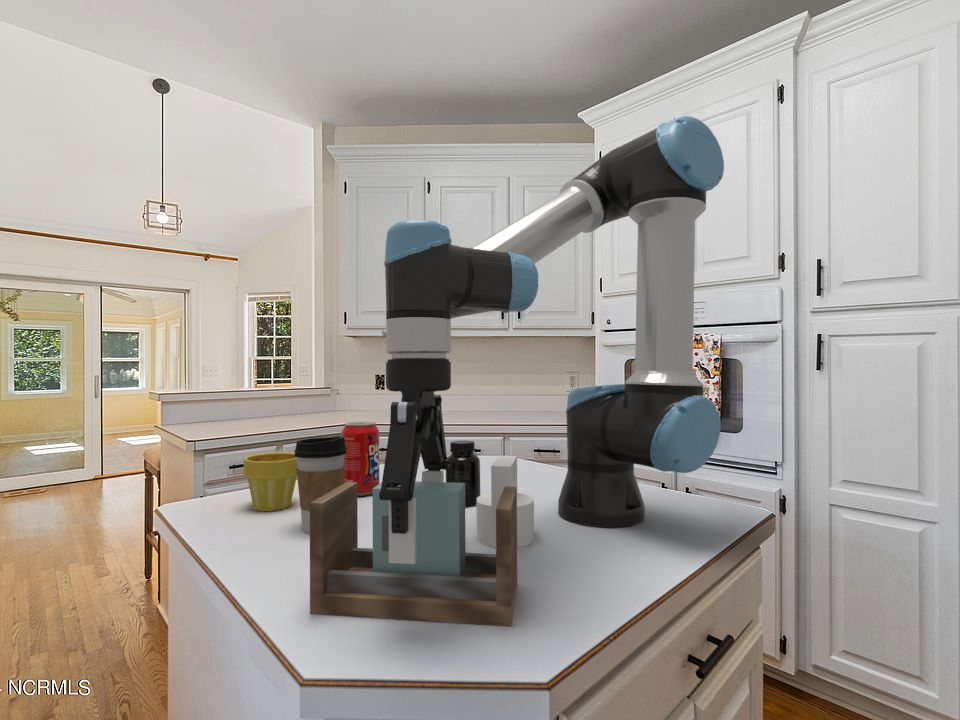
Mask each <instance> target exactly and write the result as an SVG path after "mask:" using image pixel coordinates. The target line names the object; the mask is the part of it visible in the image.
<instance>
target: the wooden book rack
mask: <svg viewBox="0 0 960 720" xmlns="http://www.w3.org/2000/svg"><path fill="white" fill-rule="evenodd" d="M517 493H518V486H517V487H509V486H505V487H504V489H503V492H502V494H501V497H500V500H499V502H498V505H497V508H496V547H495V551H496V552H495V553H482V552H481V553H478V552H466V576H465V577H460V576H441V575H421V574H402V573H382V572H373V547H372V548H371V547H370V548H367V547H358V546H359V545H358V544H359V543H358V541H359V539H358V536H359V535H358V530H359V529H358V497H357V482H346V483H344V484H342V485H341V486H339V487H337V488H335V489H334V490H332V491H330V492H328V493H326V494H325V495H323V496H321V497H319V498H318V499H316V500H314V501H312V502H311V503H310V533H309V613H310V614H313V613H314V614H316V615H328V616H329V615H331V616H348V617H362V618H375V619H376V618H377V619H378V618H379V619H392V620H394V619H395V620H396V619H397V620H409V621H426V622H440V623H453V624H454V623H456V624H457V623H458V624H468V625H469V624H471V625H487V626H501V627H502V626H503V627H512V623H513V616H514V611H515V610H514V609H515V603H516V598H517V597H516V596H517V591H518V547H517Z"/></svg>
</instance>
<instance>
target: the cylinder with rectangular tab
mask: <svg viewBox="0 0 960 720" xmlns="http://www.w3.org/2000/svg"><path fill="white" fill-rule="evenodd" d="M490 472H491V476H490V479H491V480H490V481H491V484H490V485H491V487H490V488H491V489H490V491H491V492H490V493H488V492H487V493H485V494H484V493H483V494H480V496H479V497H478V498H477V500H476V505H475V506H476V540H477V541H478V542H479V543H480V544H482V545H485V546H488V547H493V548H496V508H497V505H498V502H499V500H500V497H501V494H502V492H503V489H504V487H505V486H509V487H517V488H518V456H517V455H516V456H515V455H499V456H497V458H496V459H495V461H493V463H492V464H491V465H490ZM534 502H535V500H534V497H532V496H530V495H529V494H525V493H520V492H517V548H519V547H524V546H527V545H529V544H531V543H532V542H533V541H534V540H535V522H534V521H535V513H534V511H535V503H534Z"/></svg>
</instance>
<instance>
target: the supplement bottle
mask: <svg viewBox="0 0 960 720" xmlns="http://www.w3.org/2000/svg"><path fill="white" fill-rule="evenodd" d="M475 445H476V444H475V441H474V440H473V441H472V440H453V441H450V446H449V447H450V449H449V451H450V455H447V460H446V461H450V468H449V470H445V482H450V483H465V508H466V507H467V508H468V507H473V506H476V500H477V498H478V497H479V496H481V462H480V461H481V460H480V458H479V456H478V455H476V454H475V453H474V452H475V451H476V448H475Z"/></svg>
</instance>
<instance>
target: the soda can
mask: <svg viewBox="0 0 960 720" xmlns="http://www.w3.org/2000/svg"><path fill="white" fill-rule="evenodd" d="M340 437H344V438H345V445H346V448H347V450H346V452H347V453H346V454H344V466H345V468H344V479H343V484H344V483H346V482H357V498H358V497H367V496H372V495H373V488H374V487H376V486H377V485H379V484H380V429H379V428H378V427H377V423H376V421H350V422H345V423H344V427H343V429H342V430H341V435H340Z"/></svg>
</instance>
